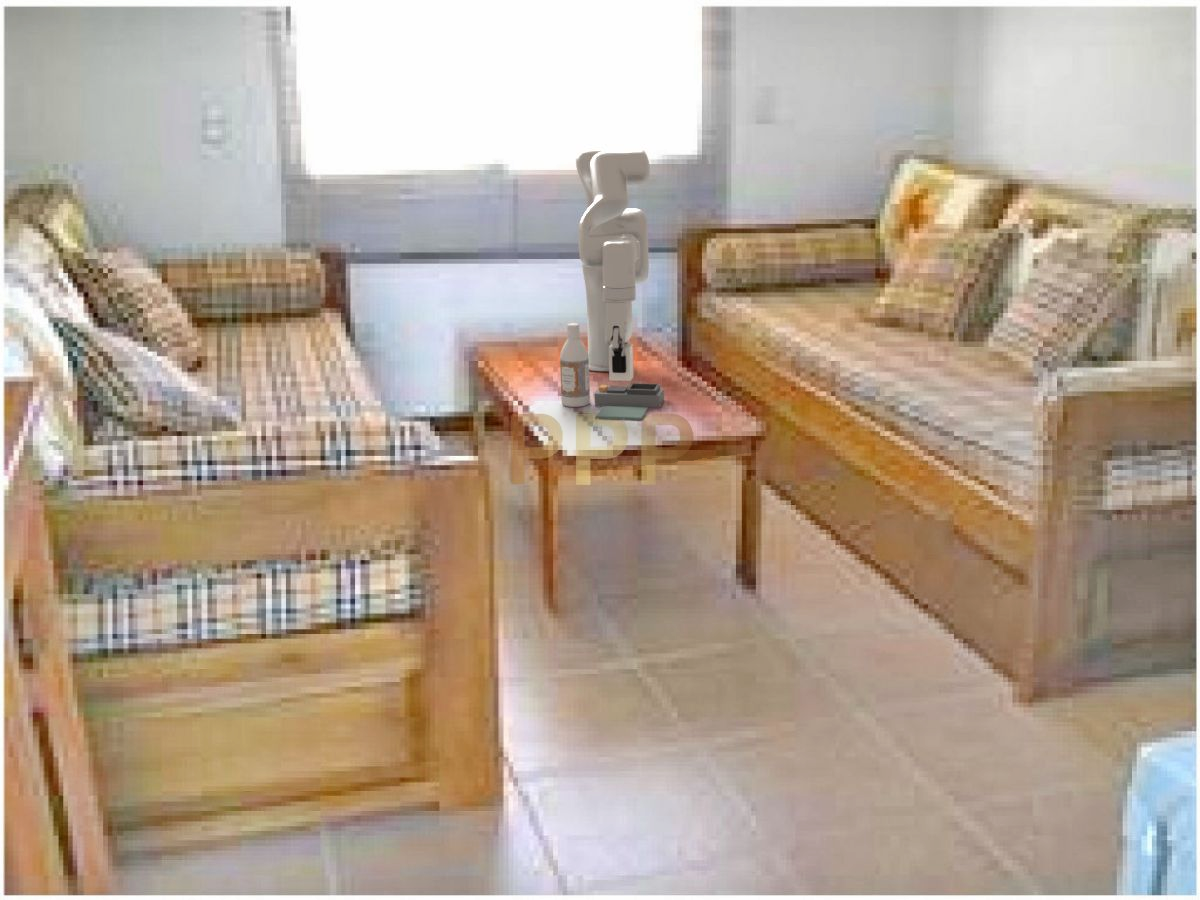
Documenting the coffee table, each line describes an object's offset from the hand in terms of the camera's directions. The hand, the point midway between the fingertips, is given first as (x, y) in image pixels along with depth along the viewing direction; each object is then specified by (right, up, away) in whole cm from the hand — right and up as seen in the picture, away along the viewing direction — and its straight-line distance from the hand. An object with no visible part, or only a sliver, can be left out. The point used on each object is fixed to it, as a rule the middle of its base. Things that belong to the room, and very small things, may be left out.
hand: (621, 369), depth 326 cm
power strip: (+2, -8, +13) cm, 15 cm away
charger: (0, -2, +1) cm, 2 cm away
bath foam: (-11, -8, +13) cm, 19 cm away
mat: (0, -11, +4) cm, 11 cm away
